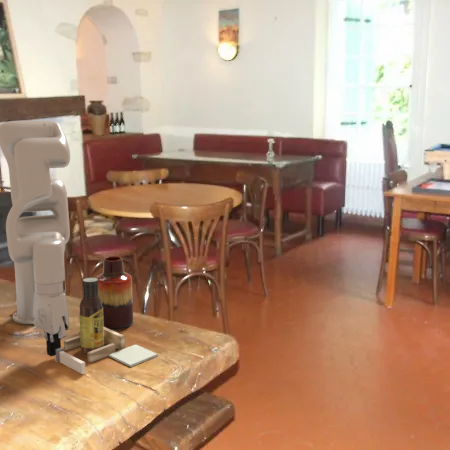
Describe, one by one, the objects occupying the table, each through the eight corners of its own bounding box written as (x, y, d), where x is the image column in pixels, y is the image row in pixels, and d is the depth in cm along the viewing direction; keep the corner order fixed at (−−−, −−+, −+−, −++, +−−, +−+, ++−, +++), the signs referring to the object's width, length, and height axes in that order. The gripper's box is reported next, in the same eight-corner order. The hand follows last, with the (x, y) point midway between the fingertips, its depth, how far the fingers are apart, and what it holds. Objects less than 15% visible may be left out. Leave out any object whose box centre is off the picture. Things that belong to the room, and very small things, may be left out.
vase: (140, 321, 182) (139, 257, 177) (116, 333, 173) (113, 265, 168) (114, 314, 187) (111, 251, 183) (89, 325, 178) (86, 259, 174)
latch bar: (56, 361, 154) (55, 349, 153) (61, 359, 155) (60, 347, 154) (81, 374, 147) (80, 362, 146) (86, 372, 148) (85, 360, 147)
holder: (64, 349, 162) (63, 335, 161) (98, 337, 170) (97, 324, 169) (90, 362, 154) (89, 348, 153) (124, 349, 162) (124, 335, 161)
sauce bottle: (98, 356, 158) (95, 284, 153) (76, 354, 159) (73, 282, 154) (108, 346, 164) (105, 277, 159) (87, 344, 165) (84, 275, 161)
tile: (109, 356, 157) (108, 354, 157) (135, 346, 164) (135, 344, 164) (130, 367, 152) (130, 364, 151) (157, 356, 158) (157, 353, 158)
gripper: (21, 283, 154) (26, 350, 158) (53, 297, 144) (57, 367, 148) (47, 277, 159) (51, 341, 163) (79, 289, 149) (83, 358, 153)
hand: (54, 353), depth 155 cm, fingers closed
